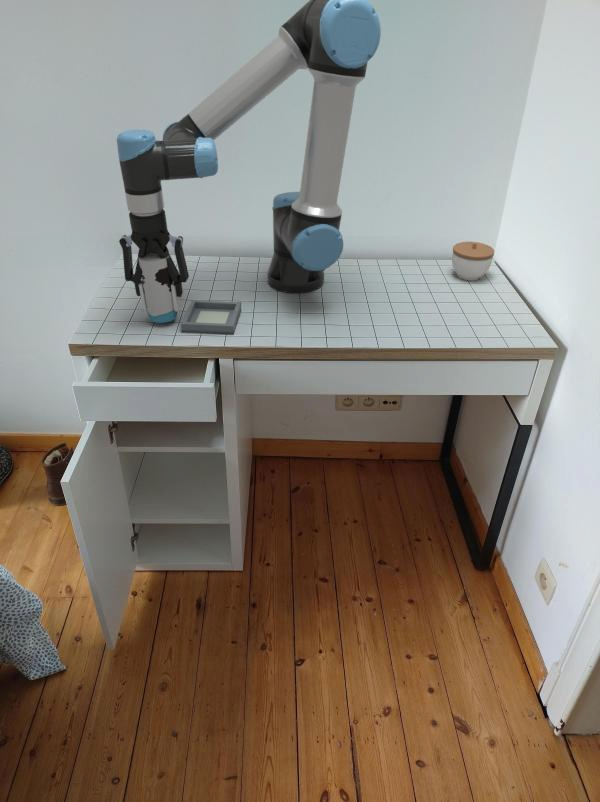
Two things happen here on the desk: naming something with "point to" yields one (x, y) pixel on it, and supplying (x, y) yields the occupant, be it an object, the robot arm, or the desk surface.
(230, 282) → the desk surface
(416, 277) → the desk surface
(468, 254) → the lidded jar
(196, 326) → the tray
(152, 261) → the cup
